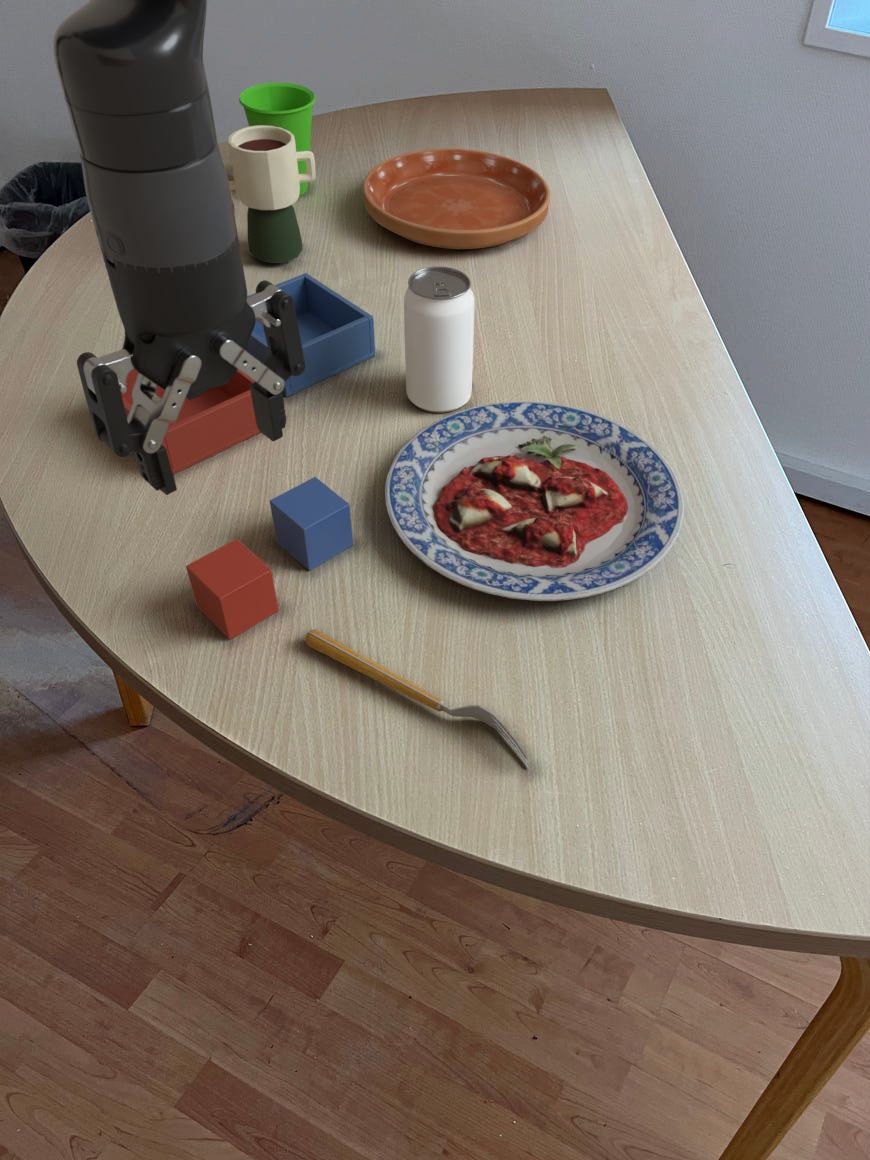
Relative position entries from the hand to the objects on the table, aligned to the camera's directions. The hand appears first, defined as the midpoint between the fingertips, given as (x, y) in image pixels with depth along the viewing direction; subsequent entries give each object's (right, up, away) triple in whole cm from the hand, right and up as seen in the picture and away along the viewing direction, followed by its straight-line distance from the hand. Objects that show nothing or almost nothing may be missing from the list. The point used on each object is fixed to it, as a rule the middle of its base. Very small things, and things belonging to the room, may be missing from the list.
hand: (218, 460), depth 66 cm
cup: (-7, +45, +57) cm, 74 cm away
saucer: (+15, +41, +54) cm, 70 cm away
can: (+14, +12, +29) cm, 35 cm away
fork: (+13, -17, +5) cm, 22 cm away
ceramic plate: (+23, -1, +19) cm, 29 cm away
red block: (-1, -10, +10) cm, 14 cm away
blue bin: (-1, +17, +33) cm, 38 cm away
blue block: (+4, -4, +15) cm, 16 cm away
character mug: (-6, +33, +46) cm, 57 cm away
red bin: (-10, +8, +25) cm, 28 cm away
